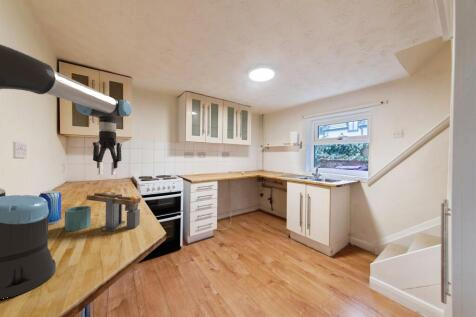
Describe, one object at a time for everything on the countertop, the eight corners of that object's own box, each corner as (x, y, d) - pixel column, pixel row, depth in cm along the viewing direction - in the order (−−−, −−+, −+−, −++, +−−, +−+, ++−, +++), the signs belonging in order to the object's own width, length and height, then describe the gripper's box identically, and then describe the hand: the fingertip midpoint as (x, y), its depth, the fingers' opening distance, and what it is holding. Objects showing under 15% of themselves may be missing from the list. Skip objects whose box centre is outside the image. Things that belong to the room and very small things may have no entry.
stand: (113, 230, 86) (113, 199, 86) (101, 231, 86) (102, 199, 86) (125, 222, 97) (125, 194, 97) (114, 222, 97) (115, 194, 96)
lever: (145, 204, 104) (147, 194, 104) (133, 212, 89) (135, 200, 89) (104, 198, 102) (106, 188, 102) (84, 206, 87) (86, 194, 87)
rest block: (135, 228, 90) (135, 212, 90) (126, 228, 90) (126, 212, 90) (139, 224, 95) (139, 209, 95) (131, 224, 95) (131, 209, 95)
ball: (134, 203, 91) (135, 197, 91) (127, 201, 91) (129, 195, 91) (136, 201, 94) (138, 196, 94) (130, 200, 94) (132, 194, 94)
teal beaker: (81, 230, 86) (81, 211, 85) (59, 231, 85) (59, 211, 84) (95, 223, 95) (95, 205, 95) (75, 223, 94) (75, 206, 94)
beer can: (33, 224, 91) (33, 192, 91) (54, 219, 99) (55, 189, 99) (43, 227, 89) (44, 194, 88) (64, 221, 97) (65, 191, 96)
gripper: (129, 132, 103) (129, 174, 104) (93, 131, 102) (93, 173, 102) (122, 131, 96) (122, 175, 96) (83, 129, 94) (83, 174, 94)
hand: (107, 174), depth 99 cm, fingers open, 6 cm apart
